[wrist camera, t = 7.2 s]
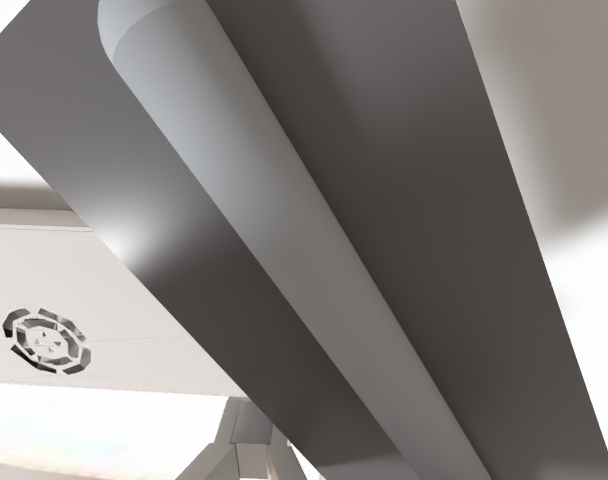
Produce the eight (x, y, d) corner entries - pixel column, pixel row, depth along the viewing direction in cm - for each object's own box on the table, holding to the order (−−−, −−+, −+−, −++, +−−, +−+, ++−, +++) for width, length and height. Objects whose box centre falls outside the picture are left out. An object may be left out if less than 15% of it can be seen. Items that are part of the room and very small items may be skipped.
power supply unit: (297, 363, 34) (294, 400, 30) (37, 349, 35) (-5, 383, 31) (299, 215, 27) (295, 234, 22) (-29, 204, 28) (-97, 220, 23)
